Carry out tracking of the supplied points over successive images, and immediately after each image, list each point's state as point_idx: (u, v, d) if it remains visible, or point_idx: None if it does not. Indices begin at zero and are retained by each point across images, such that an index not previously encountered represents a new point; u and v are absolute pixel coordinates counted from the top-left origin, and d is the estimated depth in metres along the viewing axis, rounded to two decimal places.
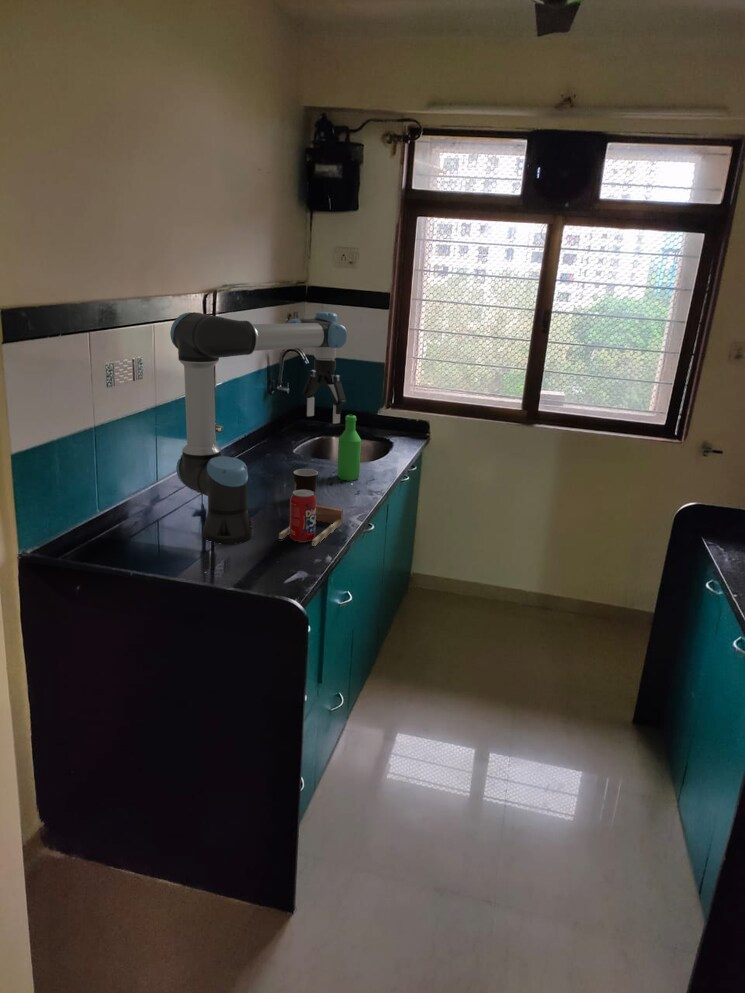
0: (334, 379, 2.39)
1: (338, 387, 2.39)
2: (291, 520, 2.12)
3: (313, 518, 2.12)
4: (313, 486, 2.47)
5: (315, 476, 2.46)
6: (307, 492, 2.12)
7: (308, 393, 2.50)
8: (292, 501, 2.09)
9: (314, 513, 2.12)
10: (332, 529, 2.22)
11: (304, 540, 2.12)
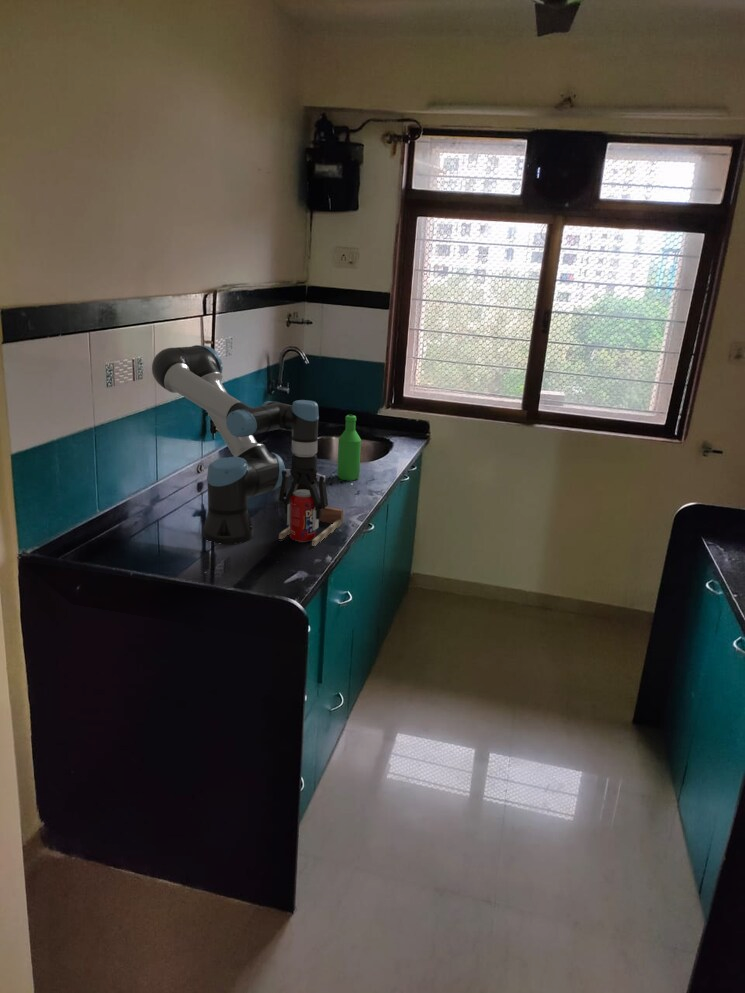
0: (321, 480, 2.07)
1: (323, 489, 2.08)
2: (291, 520, 2.12)
3: None
4: None
5: None
6: (307, 492, 2.12)
7: (287, 498, 2.12)
8: (292, 501, 2.09)
9: None
10: (332, 529, 2.22)
11: (304, 540, 2.12)
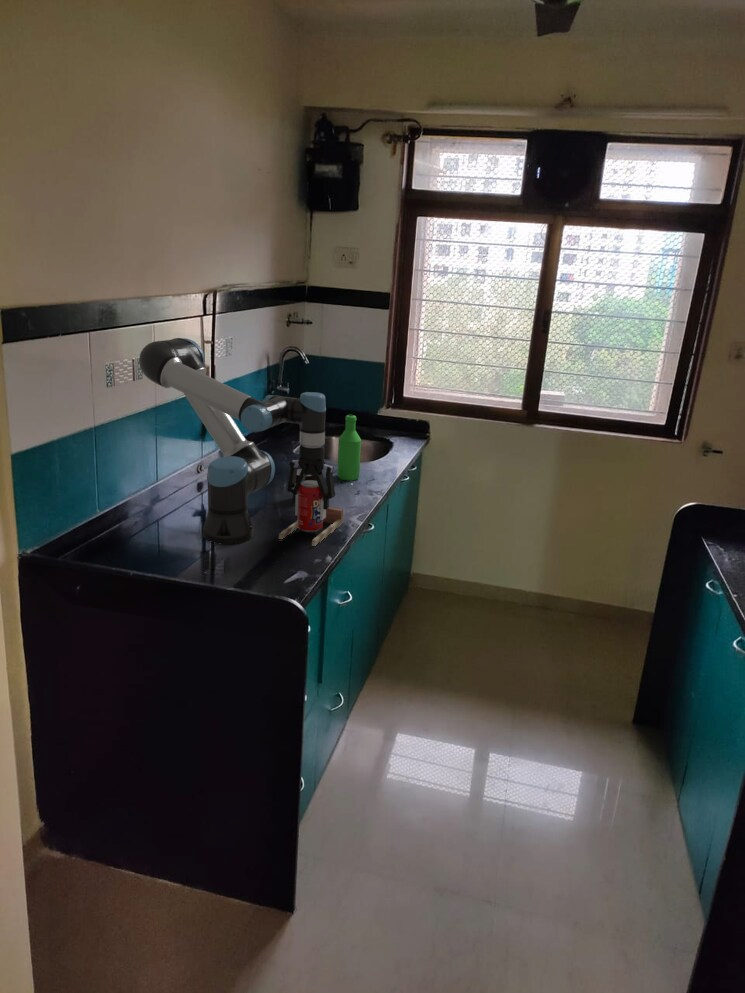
0: (328, 471, 2.11)
1: (330, 480, 2.12)
2: (299, 510, 2.16)
3: None
4: None
5: None
6: (315, 483, 2.16)
7: (295, 489, 2.16)
8: (300, 491, 2.13)
9: None
10: (332, 529, 2.22)
11: (312, 530, 2.16)
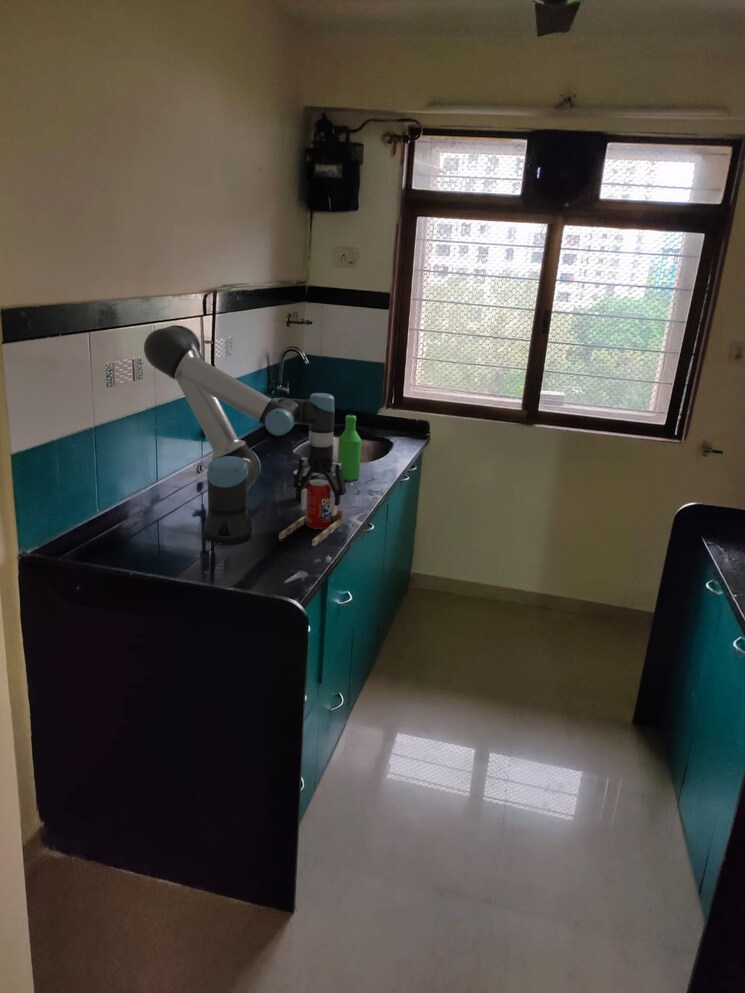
0: (337, 468, 2.17)
1: (340, 477, 2.18)
2: (307, 508, 2.22)
3: (328, 506, 2.22)
4: None
5: (315, 476, 2.46)
6: (323, 481, 2.23)
7: (302, 485, 2.23)
8: (309, 490, 2.20)
9: (329, 501, 2.22)
10: (332, 529, 2.22)
11: (320, 527, 2.23)
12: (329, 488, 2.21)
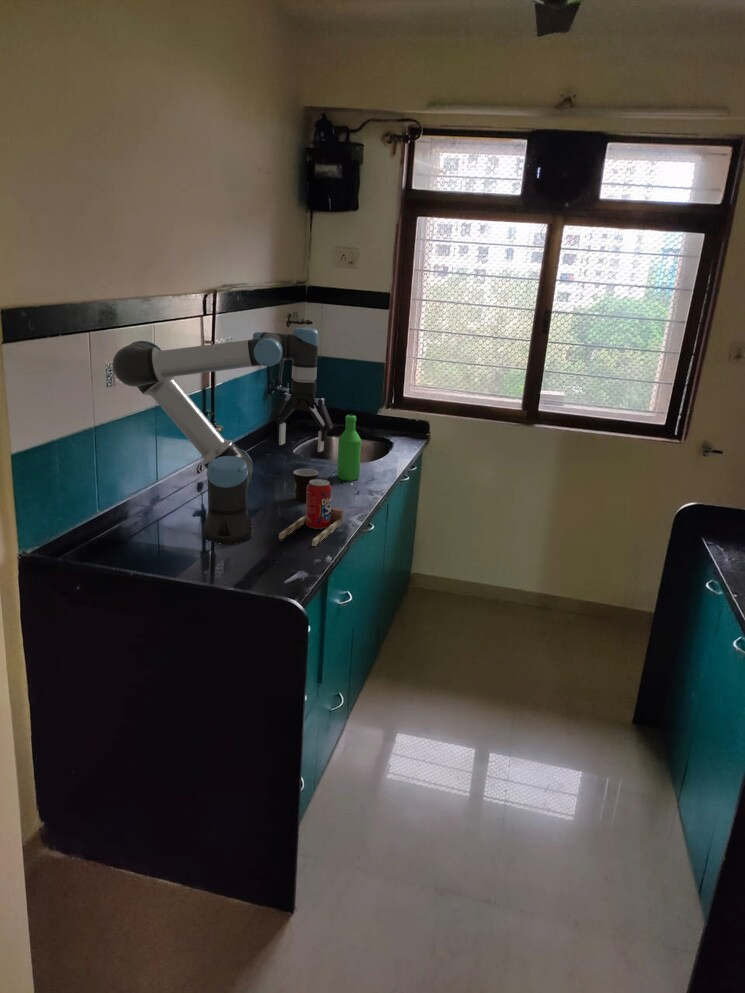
0: (319, 403, 2.14)
1: (324, 411, 2.15)
2: (307, 508, 2.22)
3: (328, 506, 2.22)
4: None
5: (315, 476, 2.46)
6: (323, 481, 2.23)
7: (281, 419, 2.20)
8: (309, 490, 2.20)
9: (329, 501, 2.22)
10: (332, 529, 2.22)
11: (320, 527, 2.23)
12: (329, 488, 2.21)
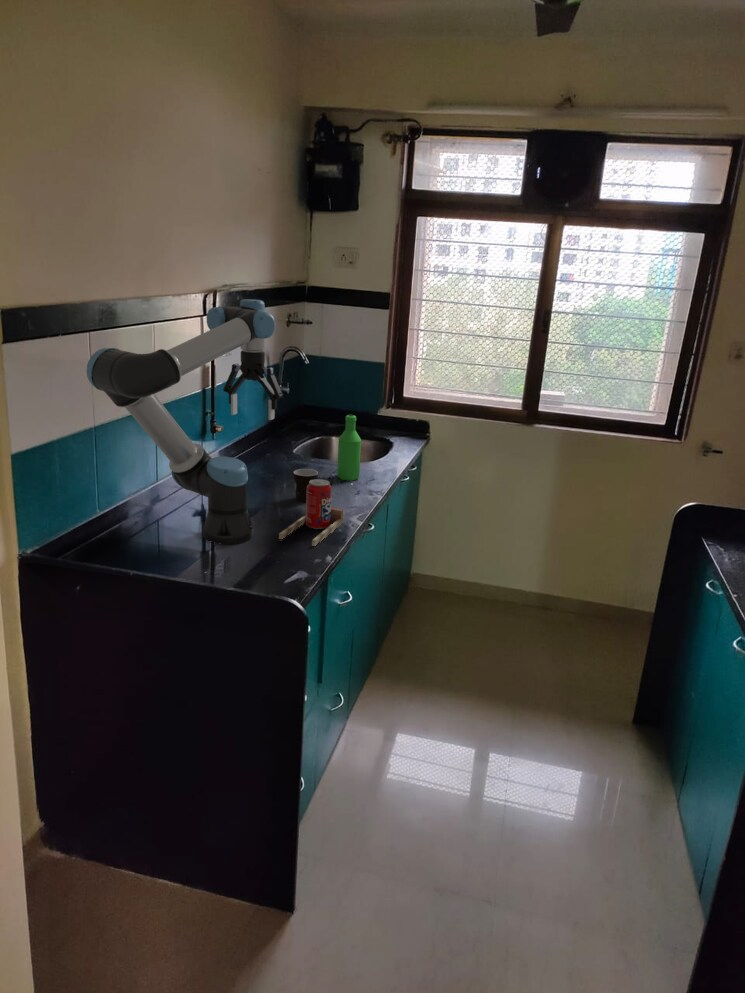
0: (268, 372, 2.21)
1: (273, 380, 2.22)
2: (307, 508, 2.22)
3: (328, 506, 2.22)
4: None
5: (315, 476, 2.46)
6: (323, 481, 2.23)
7: (232, 389, 2.27)
8: (309, 490, 2.20)
9: (329, 501, 2.22)
10: (332, 529, 2.22)
11: (320, 527, 2.23)
12: (329, 488, 2.21)
